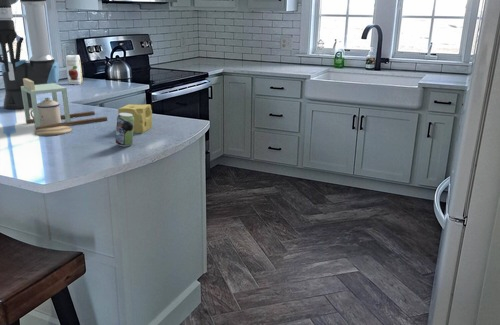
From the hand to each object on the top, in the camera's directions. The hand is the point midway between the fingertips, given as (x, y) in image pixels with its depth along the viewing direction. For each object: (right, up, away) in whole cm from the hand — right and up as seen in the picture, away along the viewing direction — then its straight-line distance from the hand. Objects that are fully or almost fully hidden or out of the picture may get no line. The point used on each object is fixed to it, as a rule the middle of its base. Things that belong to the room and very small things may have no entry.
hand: (12, 79), depth 194 cm
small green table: (+9, -16, +13) cm, 22 cm away
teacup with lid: (+9, -17, +13) cm, 23 cm away
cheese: (+50, -20, +3) cm, 54 cm away
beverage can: (+52, -28, -20) cm, 62 cm away
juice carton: (-20, +19, +125) cm, 128 cm away
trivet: (+17, -21, +1) cm, 27 cm away
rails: (+16, -16, +18) cm, 28 cm away
